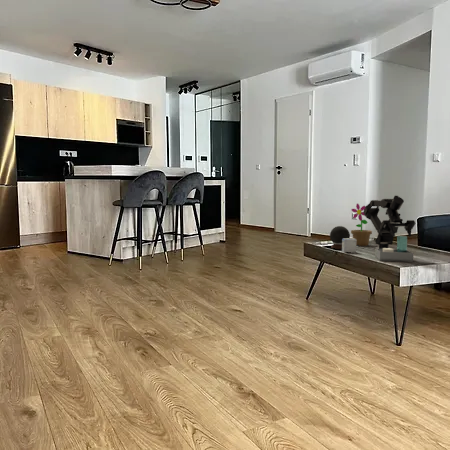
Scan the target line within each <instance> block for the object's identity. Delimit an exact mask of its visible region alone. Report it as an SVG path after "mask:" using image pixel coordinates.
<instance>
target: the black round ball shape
mask: <svg viewBox="0 0 450 450" xmlns="http://www.w3.org/2000/svg"><path fill="white" fill-rule="evenodd" d="M343 238H351V232H350V231H349V230H348V228H347V227H345V226H342V225H338V226H335V227H333V228H332V229H331V230H330V233H329V239H330V241H331V242H332V245H331V247H330V248H331V249H333V248H335V249H334V250H342V239H343Z"/></svg>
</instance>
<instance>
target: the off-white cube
mask: <svg viewBox="0 0 450 450" xmlns="http://www.w3.org/2000/svg"><path fill="white" fill-rule="evenodd" d="M394 249H395V248H391V247H389V248H383V251H382V252H394Z"/></svg>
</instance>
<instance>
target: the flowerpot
mask: <svg viewBox="0 0 450 450" xmlns="http://www.w3.org/2000/svg"><path fill="white" fill-rule="evenodd" d="M360 206H361V205H360V204H359V203H356V206H355V207H356V208H351V212H352V213H354V214H353V215H352V218H353V219H357V217H358V220H359V221H360V223H358V224H356V225H355V227H358V228H360V229H353V230H350V234H352V238H354V239H356V240H357V241H356V246H357V245H359V246H360V247H363V246H364V247H366V246H367V245H368V246H369V245H370V240H371V239H370V238H371V235H373V231H372V230H368V229H363V225H366V224H368V223H369V222H368V221H367V220H366V219H363V217H362V216H364V217H365V215H364V209H365V207H366V205H363V206H361V207H360ZM359 246H358V247H359Z"/></svg>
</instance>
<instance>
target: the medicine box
mask: <svg viewBox="0 0 450 450" xmlns="http://www.w3.org/2000/svg"><path fill="white" fill-rule="evenodd" d="M356 241H357V240H356V239H354V238H353V237H350V238H343V239H342V249H341V252H342V251H343V252H342V253H344V252H351V253H352V254H353V253H357V245H356Z"/></svg>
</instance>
